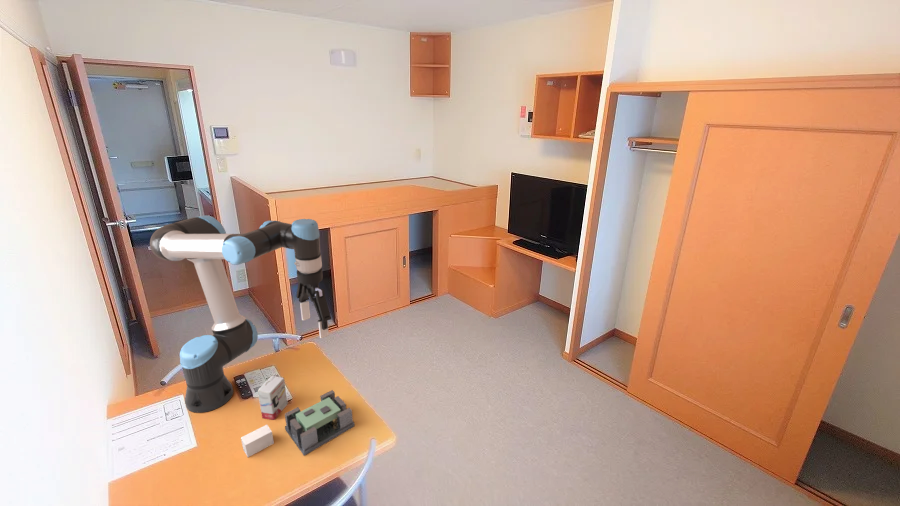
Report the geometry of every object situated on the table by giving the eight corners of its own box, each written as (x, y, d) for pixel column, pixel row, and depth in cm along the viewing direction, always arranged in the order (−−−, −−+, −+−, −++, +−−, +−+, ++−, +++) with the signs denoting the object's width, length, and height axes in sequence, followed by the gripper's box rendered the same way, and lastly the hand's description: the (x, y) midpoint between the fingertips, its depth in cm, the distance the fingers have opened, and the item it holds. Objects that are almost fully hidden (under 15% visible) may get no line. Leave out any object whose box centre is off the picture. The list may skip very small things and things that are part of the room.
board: (296, 420, 132) (295, 412, 131) (329, 402, 140) (328, 395, 139) (307, 434, 127) (306, 426, 126) (341, 415, 135) (340, 408, 134)
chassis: (285, 430, 134) (282, 413, 131) (334, 404, 146) (332, 388, 143) (304, 455, 125) (301, 438, 122) (354, 426, 136) (353, 410, 134)
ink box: (274, 420, 137) (269, 393, 133) (261, 418, 138) (256, 391, 134) (288, 403, 145) (284, 377, 141) (276, 401, 146) (272, 374, 142)
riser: (243, 449, 126) (240, 437, 124) (269, 436, 131) (267, 424, 129) (247, 457, 123) (245, 445, 122) (273, 443, 129) (271, 431, 127)
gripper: (281, 259, 130) (288, 315, 138) (315, 286, 113) (321, 349, 121) (304, 254, 135) (309, 309, 143) (339, 279, 118) (343, 340, 126)
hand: (315, 327), depth 132 cm, fingers open, 13 cm apart
